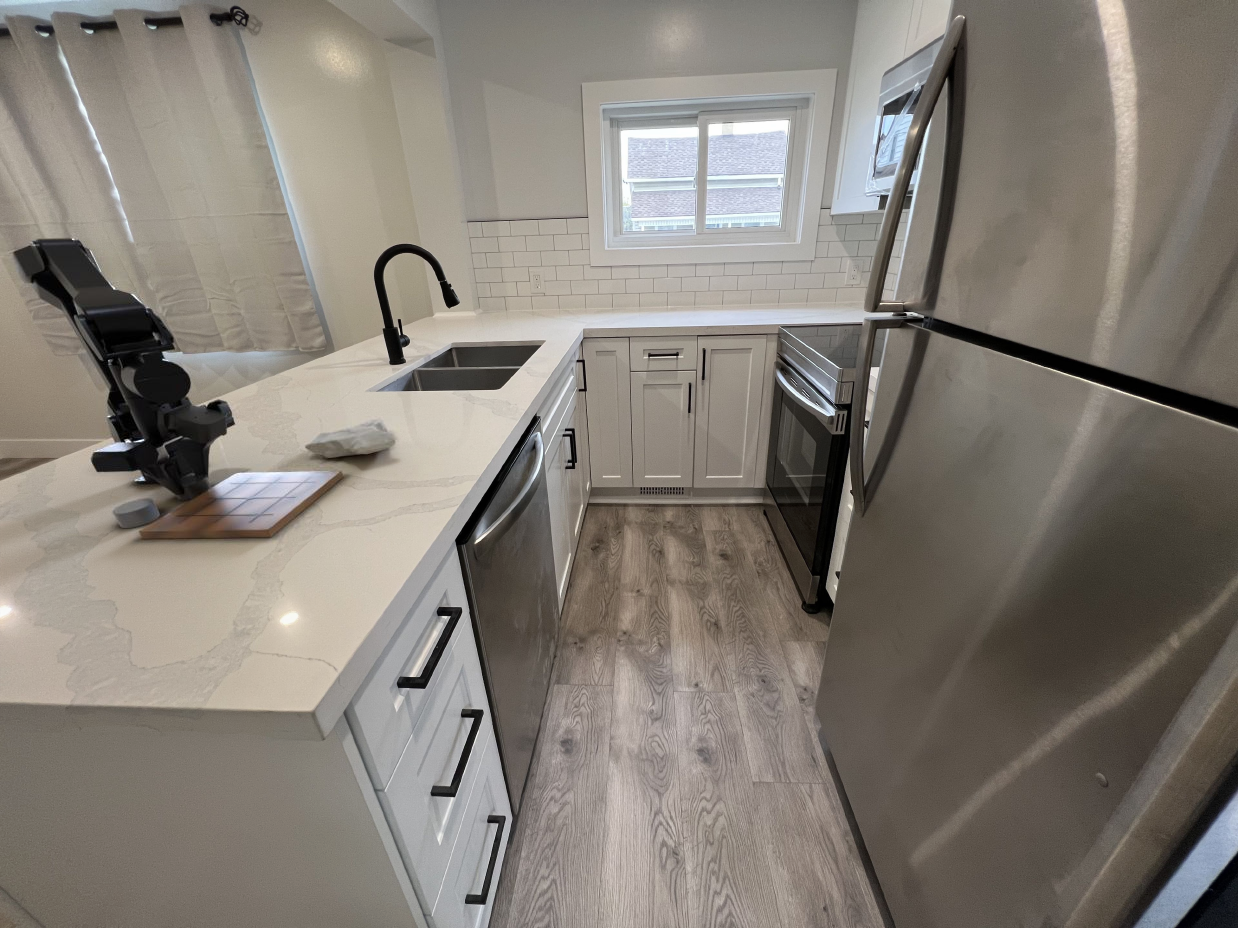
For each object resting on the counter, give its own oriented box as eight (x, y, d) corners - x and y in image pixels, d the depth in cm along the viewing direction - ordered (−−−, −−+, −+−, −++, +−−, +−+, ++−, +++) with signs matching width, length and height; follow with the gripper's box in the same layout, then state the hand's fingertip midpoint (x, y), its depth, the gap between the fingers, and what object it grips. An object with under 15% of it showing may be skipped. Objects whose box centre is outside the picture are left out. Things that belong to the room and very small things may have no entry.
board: (142, 538, 67) (138, 531, 66) (239, 479, 83) (236, 472, 83) (271, 537, 66) (267, 529, 66) (343, 477, 82) (341, 470, 82)
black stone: (170, 500, 77) (163, 486, 76) (193, 487, 81) (187, 474, 80) (197, 500, 77) (191, 486, 76) (219, 486, 81) (213, 473, 80)
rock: (304, 484, 81) (400, 457, 86) (293, 458, 79) (391, 432, 84) (319, 448, 99) (397, 428, 104) (310, 426, 98) (389, 407, 102)
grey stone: (111, 528, 70) (103, 513, 69) (139, 512, 74) (132, 498, 73) (141, 528, 70) (133, 513, 69) (168, 512, 74) (161, 497, 73)
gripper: (144, 412, 63) (193, 518, 70) (249, 374, 80) (280, 462, 87) (61, 414, 64) (118, 519, 70) (182, 376, 81) (219, 463, 87)
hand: (192, 487), depth 78 cm, fingers closed on black stone, 4 cm apart
